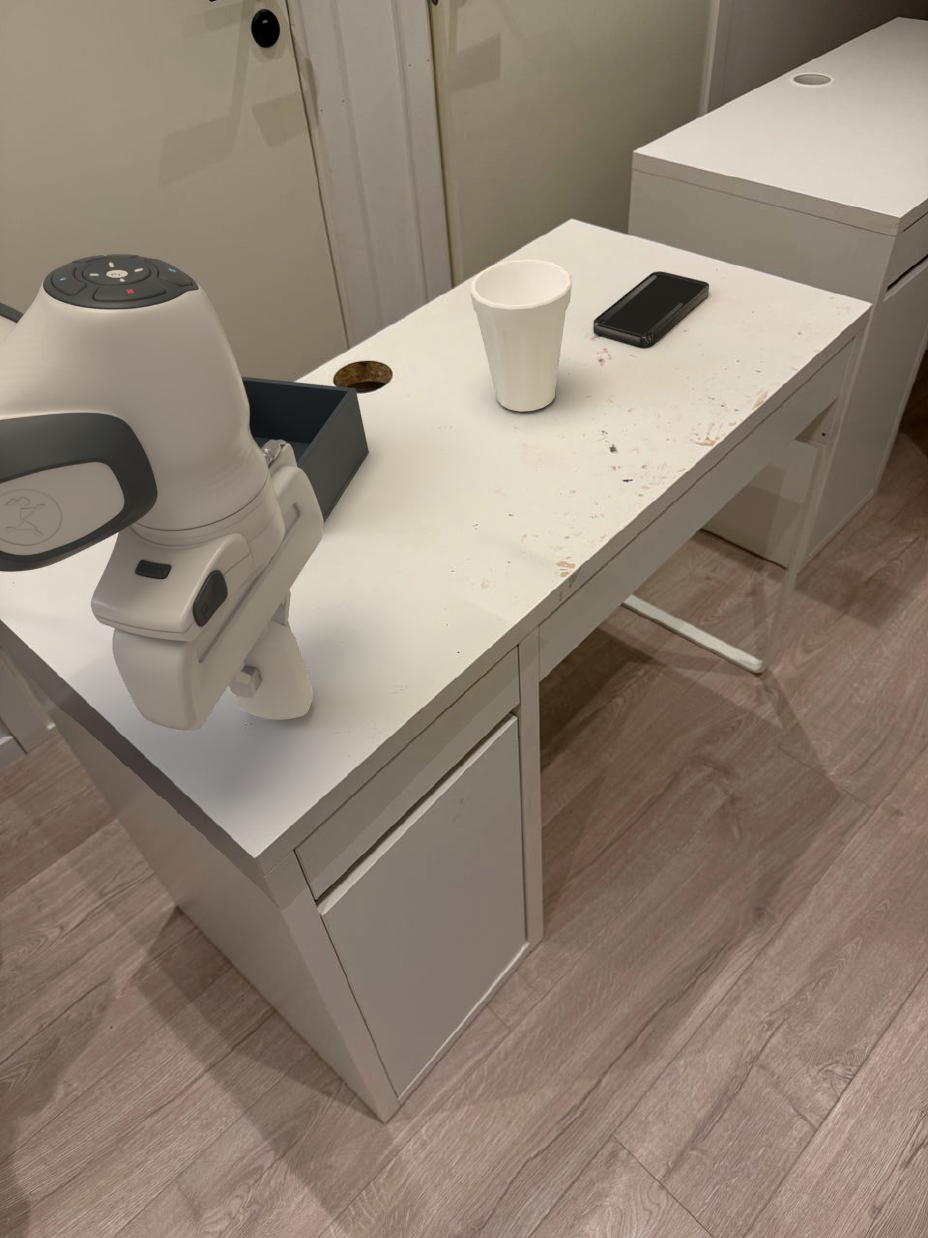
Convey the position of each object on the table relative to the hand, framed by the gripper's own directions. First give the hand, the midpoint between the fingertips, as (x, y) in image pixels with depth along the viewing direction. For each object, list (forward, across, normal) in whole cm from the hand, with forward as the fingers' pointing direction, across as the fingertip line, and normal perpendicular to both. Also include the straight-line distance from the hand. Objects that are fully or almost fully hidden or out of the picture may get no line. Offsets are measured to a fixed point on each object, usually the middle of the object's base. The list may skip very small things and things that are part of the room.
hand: (263, 664), depth 65 cm
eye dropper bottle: (+5, 0, 0) cm, 5 cm away
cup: (+5, -45, +7) cm, 46 cm away
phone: (+5, -65, +17) cm, 68 cm away
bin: (+6, -26, -14) cm, 30 cm away
